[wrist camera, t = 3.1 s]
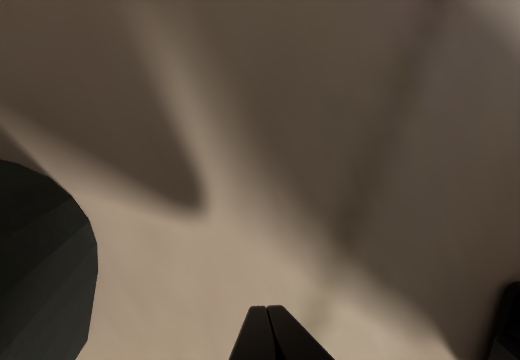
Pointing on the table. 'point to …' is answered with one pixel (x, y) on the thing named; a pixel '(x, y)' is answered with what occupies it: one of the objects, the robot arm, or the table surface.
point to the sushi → (43, 268)
